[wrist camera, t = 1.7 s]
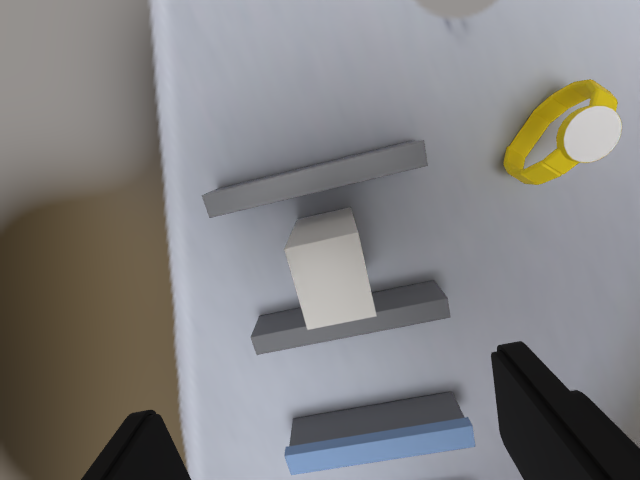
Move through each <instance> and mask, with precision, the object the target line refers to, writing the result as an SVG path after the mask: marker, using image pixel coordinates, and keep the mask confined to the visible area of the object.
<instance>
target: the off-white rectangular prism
mask: <svg viewBox="0 0 640 480" xmlns="http://www.w3.org/2000/svg"><path fill="white" fill-rule="evenodd" d="M284 250H285V253H286V257H287V260H288V264H289V267H290V271H291V274H292V278H293V281H294V285H295V288H296V292H297V295H298V299H299V302H300V306H301V309H302V313H303V316H304V320H305V323H306V327H307V330H310V329H315V328H320V327H325V326H330V325H335V324H340V323H345V322H350V321H355V320H360V319H365V318H370V317H376V311H375V307H374V302H373V297H372V293H371V288H370V284H369V279H368V275H367V270H366V265H365V261H364V256H363V252H362V247H361V243H360V238H359V233H358V230H357V227H356V223H355V220H354V217H353V213H352V210H351V207H348V208H344V209H340V210H335V211H331V212H327V213H323V214H318V215H314V216H310V217H305V218H301V219H297V221H296V223H295V225H294V228H293V230H292V232H291V235H290V237H289V239H288V241H287V244H286V246H285V248H284Z"/></svg>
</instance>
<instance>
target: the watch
mask: <svg viewBox="0 0 640 480" xmlns="http://www.w3.org/2000/svg"><path fill="white" fill-rule="evenodd" d="M586 99H591V100H590V104H589V106H586V107H583V108H579V109H577V110H576V111H574V112H572V113H571V114H570V115H569V116H568V117H567V118H566V119H565V120H564V121H563V122H562V124H561V126H560V127H559V129H558V133H557V137H556V142H557V149H555V150H554V151H553V152H552V153H551V154H549V155H548V156H547V157H546V158H545V159H543V160H542V161H540V162H538V163H536V164H534V165H532V166H530V167H528V168H526V169H523V168H524V162H525V158H526V156H527V155H528V154H529V152H530V151H531V149H532V148H533V147H534V145H535V144H536V142H537V141H538V140H539V138H540V137H541V135H542V134H543V133H544V131H545V130H546V129H547V127H548V126H549V124H550V123H551V122H553V121H554V120H555V119H556V118H558V117H559V116H560V115H561V114H563V113H564V112H565V111H566V110H568V109H569V108H571V107H572V106H574V105H576V104H578V103H580V102H582V101H584V100H586ZM617 104H618V102H617V99H616V98H615V97H614V96H613V95H612V94H611V92H610V91H608V90H607V89H605V88H604V87H602V86H601V85H599V84H598V83H596V82H595V81H593V80H591V79H590V80H583V81H577V82H573V83H571V84H569V85H567V86H565V87H564V88H562V89H560V90H559V91H557V92H555V93H553V95H551V96H549V97H548V98H547V99H546V100H545V101H544V102H543V103H542V104H540V105H539V106H538V107H537V108H536V109H535V110H534V111H533V113H532V114H531V115H530V117H529V118H528V120H527V121H526V123H525V124H524V126H523V127H522V128H521V130H520V131H519V133H518V134H517V136H516V137H515V138H514V140H513V141H512V143H511V144H510V146H509V147H507V148H506V153H505V158H504V167H505V169H506V171H507V173H508V174H510V175H511V176H513V177H514V178H516V179H518V180H519V181H521V182H523V183H524V184H534V185H539V184H543V183H545V182H547V181H550V180H552V179H555V178H557V177H560V176H561V175H562V174H565V173H566V172H568V171H569V170H570V169H572V168H573V167H574V166H575V165H577V164H578V163H590V162H594V161H597V160H599V159H601V158H603V157H605V156H606V155H608V154H609V153H610V152H611V151H612V150H613V149H614V147H615V146H616V144H617V143H618V141H619V138H620V135H621V132H622V123H621V120H620V117H619V115H618V114H617V113H616V108H617Z"/></svg>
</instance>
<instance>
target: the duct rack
mask: <svg viewBox="0 0 640 480" xmlns="http://www.w3.org/2000/svg"><path fill="white" fill-rule="evenodd" d="M425 166H428V164H427V157H426V150H425V143H424V140H422V141H409V142H405V143H401V144H396V145H392V146H388V147H384V148H380V149H376V150H372V151H368V152H364V153H360V154H356V155H352V156H348V157H344V158H340V159H336V160H332V161H328V162H324V163H320V164H316V165H312V166H308V167H304V168H300V169H296V170H292V171H288V172H284V173H280V174H275V175H271V176H267V177H263V178H259V179H255V180H251V181H247V182H243V183H239V184H235V185H231V186H227V187H223V188H219V189H216V190H214V191H211V192H209V193H206V194H204V195H202V197H203V200H204V203H205V206H206V209H207V212H208V215H209V218H212V217H216V216H220V215H224V214H228V213H233V212H237V211H241V210H245V209H249V208H253V207H258V206H262V205H266V204H270V203H274V202H279V201H283V200H287V199H291V198H295V197H299V196H304V195H308V194H312V193H316V192H320V191H324V190H329V189H333V188H337V187H341V186H345V185H350V184H354V183H358V182H362V181H366V180H370V179H375V178H379V177H383V176H387V175H391V174H395V173H400V172H404V171H408V170H412V169H416V168H421V167H425ZM372 297H373V302H374V307H375V311H376V317H370V318H365V319H360V320H355V321H350V322H345V323H340V324H335V325H330V326H325V327H320V328H315V329H310V330H307V327H306V323H305V320H304V316H303V313H302V309H301V308H297V309H292V310H287V311H282V312H277V313H272V314H268V315H263V316H259V318H258V321H257V323H256V326H255V328H254V330H253V333H252V335H251V340H252V343H253V346H254V349H255V351H256V354H257V355H259V354H264V353H269V352H274V351H280V350H285V349H290V348H295V347H300V346H305V345H311V344H316V343H321V342H326V341H331V340H336V339H342V338H347V337H352V336H357V335H362V334H367V333H373V332H378V331H383V330H388V329H393V328H399V327H404V326H409V325H414V324H419V323H424V322H430V321H435V320H440V319H445V318H450V311H449V304H448V298H447V297H446V295H445V294H444V293H443V291H442V290H441V289H440V287H439V286H438V285H437V283H436V282H435V281H434V280H433V281H428V282H423V283H419V284H414V285H409V286H404V287H399V288H394V289H389V290H384V291H380V292H375V293H372ZM470 447H475V441H474V434H473V427H472V424H471V422H470V420H469V418H468V417H466V418H464V415H463V413H462V411H461V409H460V407H459V405H458V403H457V401H456V399H455V397H454V395H453V393H452V392H447V393H441V394H435V395H429V396H423V397H418V398H412V399H406V400H400V401H394V402H388V403H383V404H377V405H371V406H365V407H359V408H353V409H348V410H342V411H336V412H330V413H324V414H319V415H313V416H307V417H301V418H295V419H293V424H292V431H291V438H290V446H289V447H286V449H285V459H286V462H287V465H288V468H289V470H290V473H291V475H295V474H301V473H308V472H314V471H321V470H327V469H334V468H340V467H347V466H353V465H360V464H366V463H373V462H379V461H386V460H392V459H399V458H405V457H411V456H418V455H424V454H431V453H437V452H444V451H450V450H457V449H463V448H470Z"/></svg>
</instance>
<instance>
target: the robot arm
mask: <svg viewBox="0 0 640 480" xmlns="http://www.w3.org/2000/svg"><path fill="white" fill-rule="evenodd" d="M491 359H492V368H493V377H494V385H495V394H496V403H497V412H498V421H499V430H500V435H501V438H502V441H503V443H504V445H505V447H506V449H507V451H508V453H509V454H510V456H511V458H512V460H513V461H514V463H515V465H516V467H517V468H518V470H519V472H520V474H521V475H522V477H523V479H524V480H640V448H639V447H638V446H637V445H636V444H635V443H634V442H632V441H631V440H630V439H629V438H628V437H627V436H626V435H625V434H624V433H623V432H622V431H621V430H620V429H619V428H618V427H617V426H616V425H615V424H614V423H613V422H612V421H611V420H610V419H609V418H608V417H607V416H606V415H605V414H604V413H603V412H602V411H601V410H600V409H599V408H598V407H597V406H596V405H595V404H594V403H593V402H592V401H591V400H590V399H589V398H588V397H587V396H586V395H585V394H583V393H582V392H580V391H578V390H574V391H570V390H569V389H568V388H567V387H566V386H565V385H564V384H563V383H562V382H561V381H560V380H559V379H558V378H557V377H556V376H555V375H554V374H553V373H552V372H551V371H550V370H549V368H548V367H547V366H546V365H545V364H544V363H543V362H542V361H541V360H540V359H539V358H538V357H537V356H536V355H535V354H534V353H533V352H532V351H531V350H530V349H529V348H528V347H527V346H526V344H524V343H523V342H521V341H519V342H513V343H508V344H502V345H498V346H497V352H493V353H492V354H491ZM81 480H191V478H190V476H189V474H188V472H187V470H186V468H185V466H184V464H183V461H182V459H181V457H180V455H179V453H178V451H177V449H176V447H175V445H174V442H173V441H172V438H171V436H170V434H169V432H168V430H167V428H166V426H165V423H164V421H163V419H162V417H161V416H160V415H159V414H156V412H155V411H153V410H146V411H141V412H136V413H132V414H130V415H129V416H128V417H127V418H126V419H125V420H124V422H123V423H122V425H121V426H120V427H119V429H118V430H117V431H116V433H115V434H114V436H113V437H112V438H111V440H110V441H109V442H108V444H107V445H106V446H105V448H104V449H103V450H102V452H101V453H100V454H99V456H98V457H97V459H96V460H95V461H94V463H93V464H92V465H91V467H90V468H89V470H88V471H87V472H86V474H85V475H84V477H83V478H82V479H81Z"/></svg>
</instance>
